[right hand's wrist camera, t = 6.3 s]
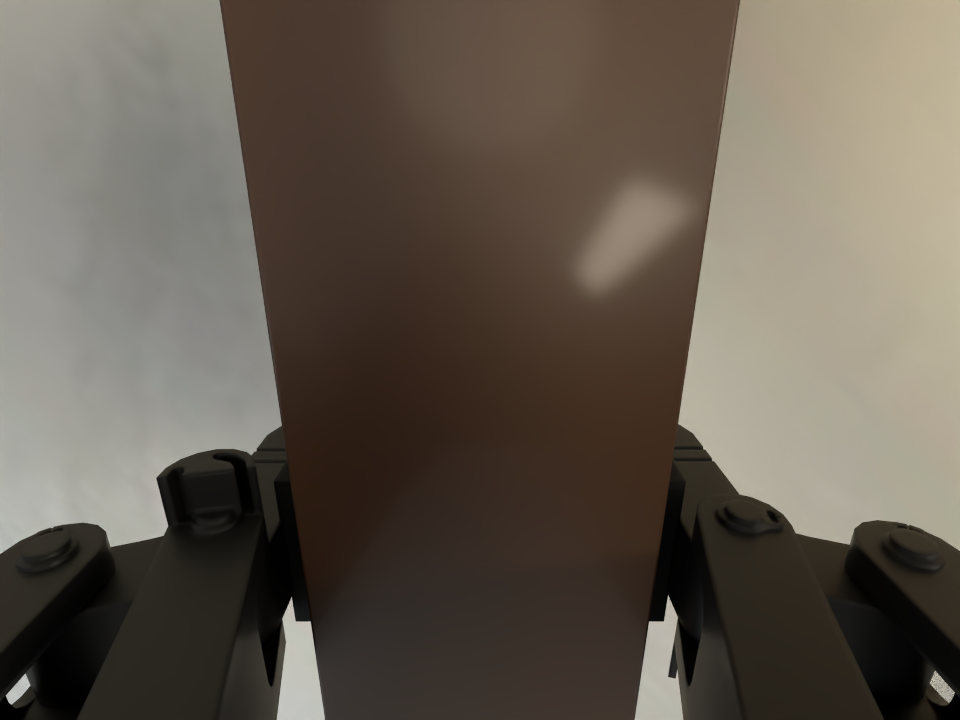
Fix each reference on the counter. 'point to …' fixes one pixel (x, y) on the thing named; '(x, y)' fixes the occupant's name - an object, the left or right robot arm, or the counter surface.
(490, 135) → the beam
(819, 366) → the counter surface
